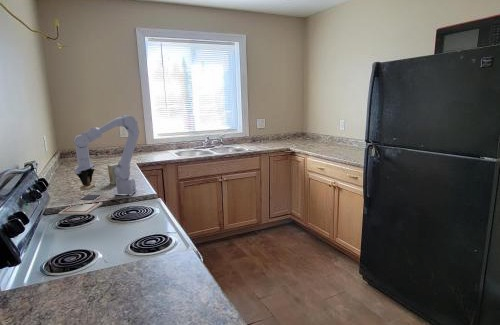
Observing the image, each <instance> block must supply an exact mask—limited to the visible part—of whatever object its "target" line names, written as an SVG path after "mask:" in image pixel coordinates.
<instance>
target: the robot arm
mask: <svg viewBox="0 0 500 325" xmlns="http://www.w3.org/2000/svg"><path fill="white" fill-rule="evenodd" d="M116 127H124V128H125V130H126V132H127V133H128V135H127V139H126V140H125V145H124V148H123V150H122V155H121V157H120V160H119V161H118V162H117V163H118V165H117V167H116V168H115V169H114V173H115V174H116V175H117V177H116V184H115V185H116V191H117V192H116V193H118V194H132V195H134V194H135V193H136V192H137V187H136V180H135V179H134V178H132V177H130V176H131V172H130V171H131V161H132V158H133V155H134V151H135V148H136V145H137V141H138V138H139V136H140V130H139V125H138V121H137V119H136V118H135V117H134V116H132V115H129V114H123V115H121V116H119V117H115V118H114V119H112V120H110V121H109V122H106V123H105V124H104V125H102V126H100V127H96V126H94V127H93V126H91V127H90V128H89V129H88V130H86V131H84V132H81V133H80V134H78V135H76V136H75V137H74V138H73V143H74V145H75V153H76V159H77V160H76V161H77V166H76V169H75V170H74V171H73V172H74V175H77V177H78V179H79V180H80V182H81V184H82V185H87V176H89V177H90V184H92V181H93V175H94V171H95V167H96V166H95V163H91V157H90V151H89V148H88V147H89V146H88V145H89V143H92V142H94V141H96V140H97V139H100V138H101V137H102V135H103V134H104V133H106V132H108V131H110V130H112V129H114V128H116ZM134 192H135V193H134ZM133 193H134V194H133Z"/></svg>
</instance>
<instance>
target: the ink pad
mask: <svg viewBox="0 0 500 325" xmlns="http://www.w3.org/2000/svg"><path fill="white" fill-rule="evenodd" d="M99 196H102V195H101V194H87V195H85V196H83V197H81V198H80V199H79V200H94V199H96V198H97V197H99ZM102 197H103V196H102Z"/></svg>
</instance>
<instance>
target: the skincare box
mask: <svg viewBox="0 0 500 325" xmlns="http://www.w3.org/2000/svg"><path fill="white" fill-rule="evenodd" d="M118 163H119V162H115V163H111V164H108V165H107V169H108V170H107V172H108V177H109V183H110V184H111V185H116V177H117V175H116V174H115V173H114V169H115V168H116V167H117V165H118Z"/></svg>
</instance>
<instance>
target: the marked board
mask: <svg viewBox="0 0 500 325" xmlns="http://www.w3.org/2000/svg"><path fill="white" fill-rule="evenodd" d="M98 202H99V203H92V204H83V205H76V206H74V205H73V204H72V205H73V206H71V205H69V206H70V207H69V206H68V207H66V208H64V209H63V210H61V211H59V212H58V213H57V214H58V215H65V216H67V215H68V216H69V215H73V216H74V215H76V216H77V215H83V216H85V215H89V214H91V213H92V212H94V211H95V210H96V209H97V208H99V207H101V206H102V205H103V202H102V201H101V202H100V201H98Z"/></svg>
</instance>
